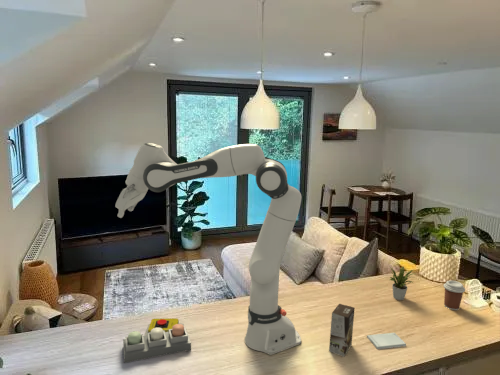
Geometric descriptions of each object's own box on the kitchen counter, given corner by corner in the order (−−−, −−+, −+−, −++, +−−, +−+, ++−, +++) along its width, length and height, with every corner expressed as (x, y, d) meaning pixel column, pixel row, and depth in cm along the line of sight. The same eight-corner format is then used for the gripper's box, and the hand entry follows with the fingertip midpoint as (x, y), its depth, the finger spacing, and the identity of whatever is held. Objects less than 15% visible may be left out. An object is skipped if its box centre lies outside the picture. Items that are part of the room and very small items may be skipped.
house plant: (421, 306, 176) (424, 274, 173) (392, 305, 176) (395, 273, 173) (408, 292, 190) (412, 262, 187) (382, 291, 190) (384, 262, 187)
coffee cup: (465, 307, 176) (468, 284, 174) (457, 313, 170) (461, 289, 168) (445, 300, 183) (448, 277, 181) (437, 306, 177) (440, 282, 175)
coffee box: (345, 357, 137) (348, 317, 134) (328, 351, 140) (331, 312, 137) (352, 345, 144) (355, 307, 142) (336, 339, 148) (339, 302, 145)
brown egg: (182, 330, 144) (182, 323, 144) (184, 336, 140) (184, 329, 140) (171, 332, 143) (171, 325, 142) (173, 338, 139) (173, 331, 138)
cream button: (162, 333, 142) (161, 326, 141) (163, 340, 138) (163, 332, 137) (150, 335, 140) (150, 328, 140) (151, 342, 136) (151, 335, 135)
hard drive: (394, 332, 152) (366, 334, 150) (406, 343, 144) (377, 346, 142) (394, 335, 153) (366, 338, 150) (405, 347, 145) (376, 350, 142)
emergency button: (148, 315, 155) (184, 315, 156) (148, 325, 156) (184, 324, 157) (143, 328, 146) (181, 327, 147) (143, 338, 147) (181, 337, 148)
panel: (186, 335, 148) (186, 323, 147) (191, 349, 139) (191, 337, 138) (123, 346, 140) (122, 334, 139) (124, 362, 131) (123, 350, 130)
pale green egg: (140, 337, 139) (140, 330, 138) (141, 344, 135) (141, 336, 134) (128, 339, 137) (128, 332, 137) (128, 346, 133) (128, 339, 133)
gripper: (135, 191, 129) (121, 225, 132) (154, 181, 149) (141, 210, 152) (119, 183, 129) (105, 217, 132) (140, 174, 149) (128, 203, 152)
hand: (125, 213), depth 142 cm, fingers open, 8 cm apart
